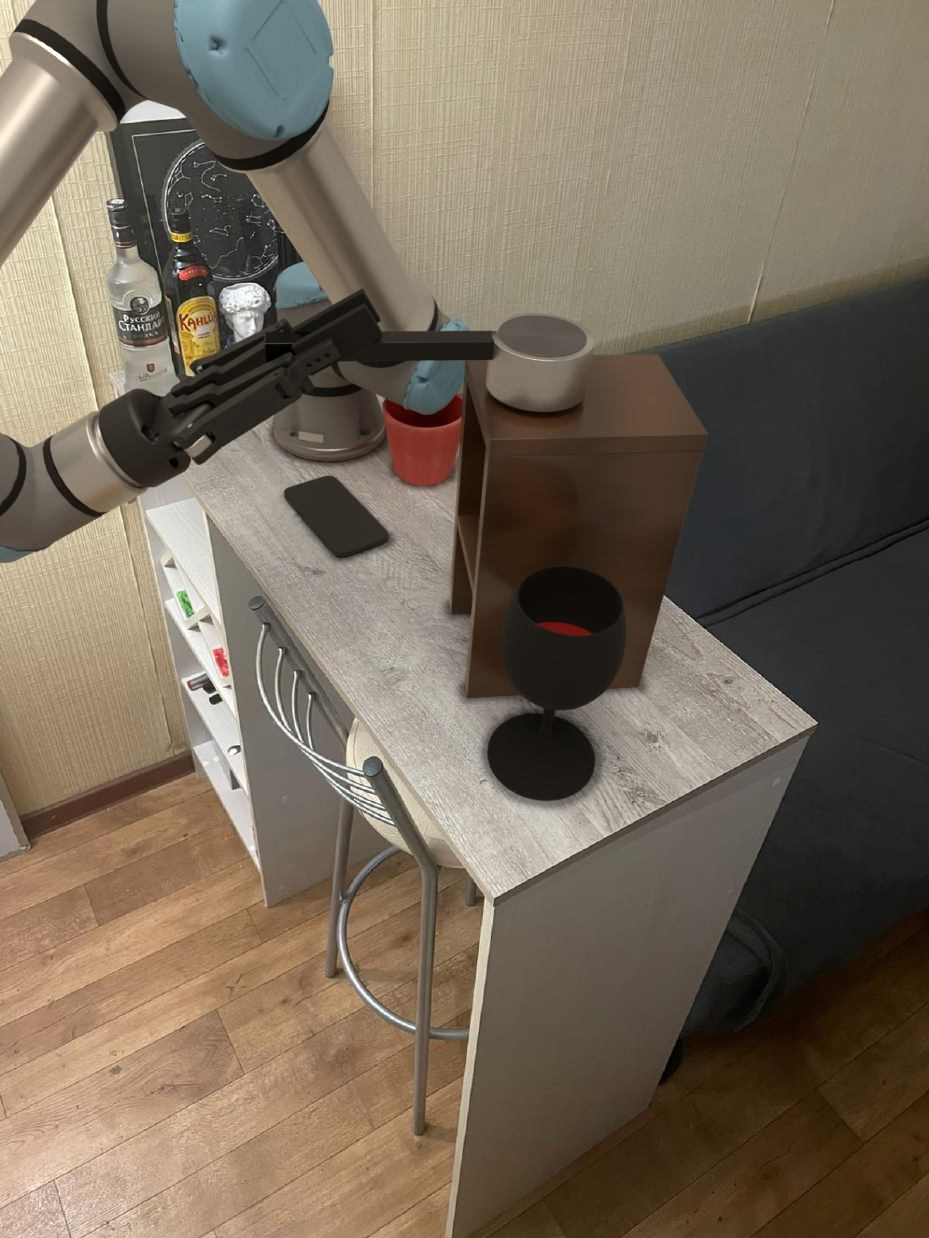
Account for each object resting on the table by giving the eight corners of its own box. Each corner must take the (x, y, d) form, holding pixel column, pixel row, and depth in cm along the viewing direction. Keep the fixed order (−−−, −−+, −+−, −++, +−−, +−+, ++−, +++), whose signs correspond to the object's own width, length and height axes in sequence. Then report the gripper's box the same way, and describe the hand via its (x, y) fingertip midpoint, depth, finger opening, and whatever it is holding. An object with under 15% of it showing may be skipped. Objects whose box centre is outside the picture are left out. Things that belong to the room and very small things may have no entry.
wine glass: (589, 811, 82) (630, 655, 69) (477, 788, 83) (495, 630, 70) (600, 726, 90) (638, 570, 76) (497, 706, 91) (516, 549, 77)
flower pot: (479, 478, 121) (485, 413, 114) (410, 502, 116) (411, 436, 109) (435, 440, 127) (438, 377, 120) (367, 462, 122) (366, 397, 115)
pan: (268, 417, 70) (263, 363, 67) (270, 364, 76) (265, 312, 73) (597, 411, 74) (606, 359, 71) (573, 361, 80) (581, 311, 77)
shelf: (466, 698, 92) (490, 439, 71) (449, 605, 102) (465, 356, 81) (638, 687, 94) (708, 434, 74) (604, 597, 104) (658, 354, 84)
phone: (337, 555, 106) (280, 489, 114) (337, 560, 106) (280, 494, 115) (392, 535, 109) (332, 473, 118) (392, 541, 109) (332, 478, 118)
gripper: (165, 435, 83) (389, 310, 78) (146, 535, 72) (405, 398, 67) (107, 369, 78) (343, 232, 73) (78, 467, 67) (352, 314, 62)
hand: (372, 312), depth 70 cm, fingers closed on pan, 2 cm apart
